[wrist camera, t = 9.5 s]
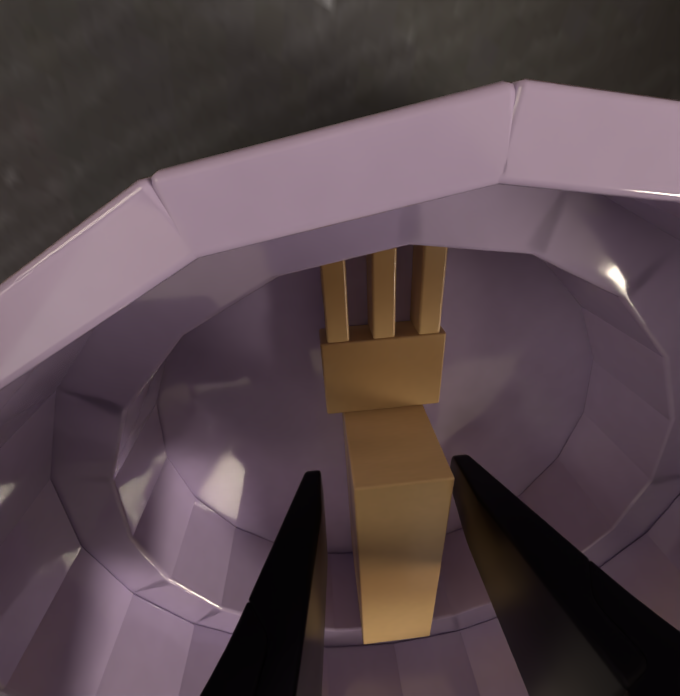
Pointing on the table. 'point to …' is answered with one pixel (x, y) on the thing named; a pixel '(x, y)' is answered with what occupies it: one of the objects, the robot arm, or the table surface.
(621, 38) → the table surface
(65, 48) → the table surface
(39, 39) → the table surface
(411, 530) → the fork
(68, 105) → the table surface
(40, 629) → the bowl
